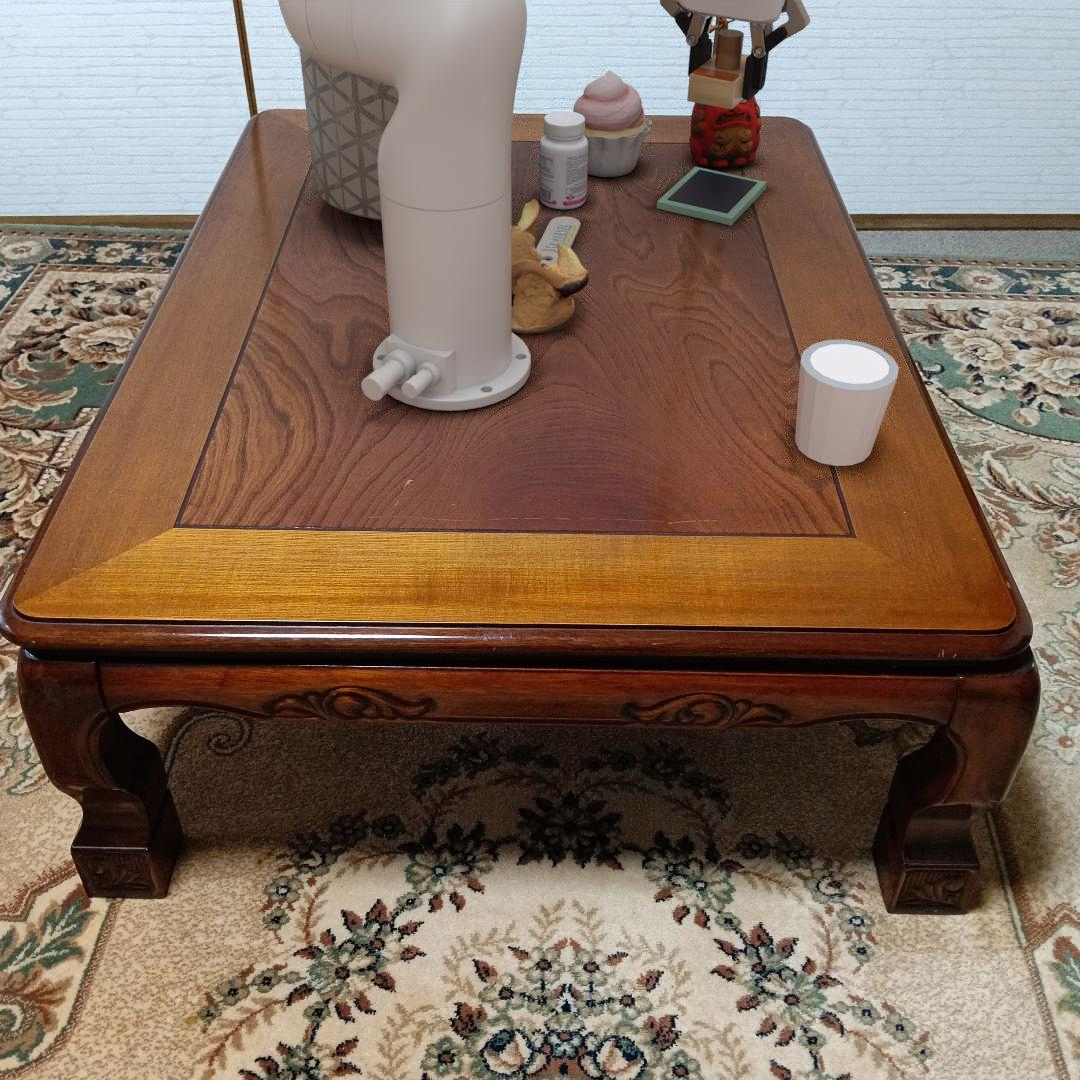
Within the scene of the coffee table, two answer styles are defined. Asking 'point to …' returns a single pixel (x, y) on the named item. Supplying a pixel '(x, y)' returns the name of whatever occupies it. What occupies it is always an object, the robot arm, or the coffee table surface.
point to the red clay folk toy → (725, 130)
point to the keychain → (557, 237)
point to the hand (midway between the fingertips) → (725, 88)
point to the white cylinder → (842, 400)
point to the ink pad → (712, 195)
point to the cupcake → (612, 125)
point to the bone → (542, 280)
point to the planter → (346, 135)
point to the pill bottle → (563, 161)
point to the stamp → (720, 73)
